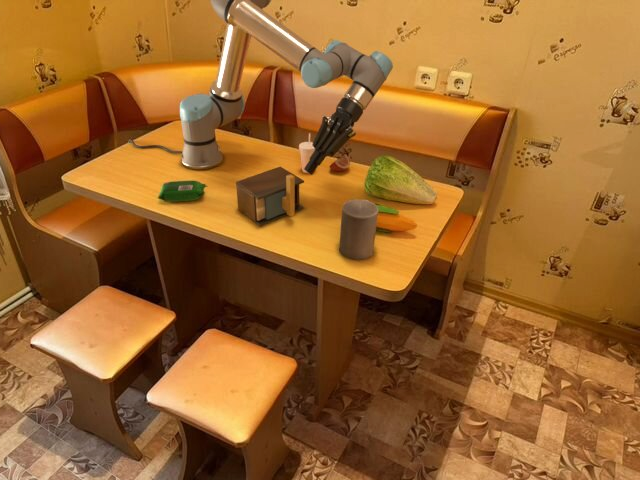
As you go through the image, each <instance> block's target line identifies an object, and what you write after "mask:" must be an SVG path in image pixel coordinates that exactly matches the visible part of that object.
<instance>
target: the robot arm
mask: <svg viewBox="0 0 640 480" xmlns="http://www.w3.org/2000/svg"><path fill="white" fill-rule="evenodd" d="M209 2H210V5H211V7H212V9H213V11H214V12H215V13H216V14H217V16H218V17H219V18H220V19H221V20H223V21H224V22H225V23H226V27H225V32H224V37H223V42H222V47H221V51H220V52H221V53H220V58H219V63H218V69H217V74H216V79H215V80H213V81H212V83H211V84H210V87H209V93H208V94H206V93H195V94H191V95H188V96H187V97H184V98H183V99H182V100H181V101H180V103H179V117H180V118H179V119H180V125H181V130H182V137H183V147H182V150H171V149H169V148H167V147H165V146H164V145H159V144H148V145H138V144H136V143H135V142H134V140H133V139H131V138H130V139H129V140H128V143H131V144H132V145H133V146H134V148H138V149H149V148H159V149H163V150H165V151H166V152H168V153H170V154H181V164H182V166H183V167H185V168H187V169H189V170H193V171H194V170H195V171H204V170H205V171H206V170H211V169H214V168H216V167H219V166H220V165H221V164H222V163H223V161H224V157H223V153H222V151H221V146H220V145H219V144H218V142H217V138H216V129H218V128H220V127H223V126H225V125H227V124H230V123H232V122H234V121H236V120H237V119H239V118H240V117H241V116H242V115H243V114H244V111H245V108H246V101H245V99H244V98H245V96H244V94H243V90H242V88H241V87H240V86H241V81H242V77H243V73H244V70H245V69H244V68H245V66H246V65H245V64H246V61H247V55H248V51H249V47H250V43H251V39H252V38H253V39H255V40H256V41H257V42H258V43H260V44H262V46H264V47H265V48H266V49H268V50H269V51H271V52H272V53H274V54H275V55H277V56H278V57H279V58H280V59H282V60H284V61H285V63H288V64H289V65H290V66H292V67H293V68H294V69H295V70H297V71H298V72H300V76H301V79H302V82H304V84H305V85H306V86H307V87H308V88H311V89H318V88H321V87H324V86H327V85H328V84H329V83H331V82H333V81H334V80H337V79H339V78H341V77H343V76H345V77H347V78H348V79H350V80H352V83H351V84H350V86H349V87H348V89H347V90H346V91H345V92H344V94H343V97H342V98H341V99H340V101H339V102H338V104H337V105H336V107H335V112H333V113H332V114H331V116H329V117H327V116H323V117H322V120H321V124H320V126H319V129H318V131H317V133H316V135H315V137H314V139H313V144H312V146H313V147H314V148H315V151H314V152H313V154H312V155H311V157H310V161H309V162H308V164H307V165H306V167H305V168H304V170H305V171H307V172H308V173H307V174H309V175H311V176H312V175H313V174H314V173H315V171H316V169H317V168H318V167H319V166H321V164H322V163H323V161H324V160H325V159H326V158H327V157H330V158H332V157H334V156H335V155H336V154H337V153H338V152H339V150H340V149H342V148H343V146H345V144H346V143H347V142H348V141H349V140H350V139H351V138H354V137H355V136H356V135H357V133H356V131H355V130H354V126H355V123H358V121H359V120H360V119H361V117H362V116H363V114H364V111H366V110H367V108H368V107H369V105H370V103H371V102H372V100H374V98H375V96H376V94H377V93H378V91H379V90H380V89H381V87H382V86H383V85H384V83H385V82H386V81H387V78H388V77H389V75H390V74H391V72H392V70H393V68H394V65H393V64H394V63H393V61H392V60H391V58H390V57H388V55H386V54H385V53H383V52H382V51H377V50H374V51H373V52H372V53H371V54H370V55H367V54H364V53H363V52H361V51H359V50H357V49H355V48H353V47H352V46H350V45H349V44H348V43H346V42H343V41H340V40H338V39H333V40H332V41H331V42H330V43H329V44H328V45H327V46H326V48H325V50H324V52H323V51H321V50H319V49H317V48H316V47H315V46H314V45H312V44H311V43H309V42H308V41H306V40H305V39H303V38H302V37H301V36H299V35H298V34H297V33H296V32H294V31H292V30H291V29H290V28H289V27H287V26H286V25H284V24H283V23H282V22H280V21H278V20H277V19H276V18H275V17H273V16H272V15H271V14H269V13H268V12H267V11H265V10H264V9H265V8H266V7H268V6H269V5H270V3H271V2H272V0H209Z"/></svg>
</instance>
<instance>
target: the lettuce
mask: <svg viewBox="0 0 640 480" xmlns="http://www.w3.org/2000/svg"><path fill="white" fill-rule="evenodd" d="M363 185H364V186H363V187H364V192H365V193H366V194H367V195H368V196H371V197H375V198H380V199H384V200H387V201H395V202H402V203H406V204H413V205H433V204H434V203H435V201H436V200H437V197H438V192H437V191H436V190H435V189H434V187H433V186H431V185H430V184H429V183H428V182H427V181H426V180H425V179H424V178H423V177H422V176H421V175H420V174H418V173H417V172H416V171H414V169H412V168H411V167H409V166H408V165H407V164H406V163H404V162H403V161H401V160H400V159H397V158H396V157H393V156H391V155H387V154H383V155H380V156H377V157H376V158H375V159H374V160H373V162H372V163H371V165H370V166H369V169H368V171H367V172H366V175H365V179H364V183H363Z"/></svg>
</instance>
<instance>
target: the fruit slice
mask: <svg viewBox="0 0 640 480" xmlns="http://www.w3.org/2000/svg"><path fill="white" fill-rule="evenodd" d="M350 165H351V161H350V158H349V156H348V155H347V154H346V153H344V154H343V155H341V156H340V157H339V158H336V159H335V160H334V161H333V162H332V163H331V164H330V165H329V168H330V169H331V170H332V171H334V172H343V171H346V170H347V169H349V168H350Z"/></svg>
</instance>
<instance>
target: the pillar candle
mask: <svg viewBox="0 0 640 480" xmlns="http://www.w3.org/2000/svg"><path fill="white" fill-rule="evenodd" d="M375 204H376V203H375V202H372V201H370V200H368V199H357V198H356V199H350V200H347V201H345V202H344V203H343V204H342V206H341V217H340V233H339V234H340V235H339V236H340V237H339V247H338V251H339V253H340V254H341V256H343V257H345V258H347V259H350V260H355V261H358V260H365V259H369V258H370V257H372V255H373V253H374V249H375V241H376V240H375V239H376V233H377V230H376V229H377V228H376V225H377V217H378V207H377V206H376V205H375Z"/></svg>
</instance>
